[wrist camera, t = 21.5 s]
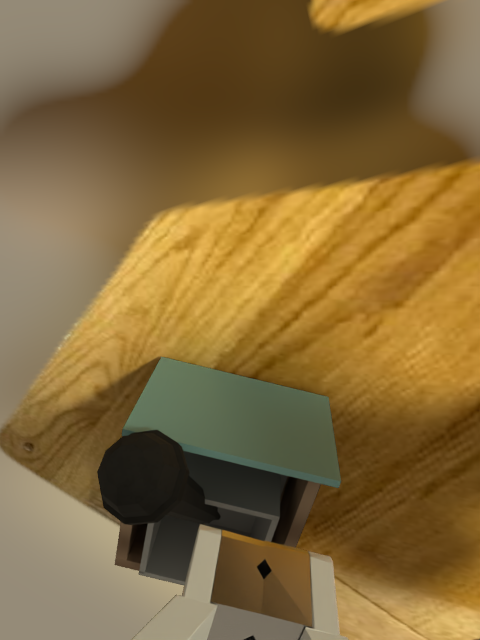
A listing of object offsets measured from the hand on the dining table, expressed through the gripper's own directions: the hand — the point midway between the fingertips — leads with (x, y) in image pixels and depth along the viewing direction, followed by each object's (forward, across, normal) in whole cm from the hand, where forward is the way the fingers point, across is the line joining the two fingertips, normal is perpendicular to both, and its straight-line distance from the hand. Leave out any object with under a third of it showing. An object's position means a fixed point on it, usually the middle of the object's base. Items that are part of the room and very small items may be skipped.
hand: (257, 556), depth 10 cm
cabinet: (+26, 0, +22) cm, 34 cm away
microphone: (+23, 0, +26) cm, 35 cm away
